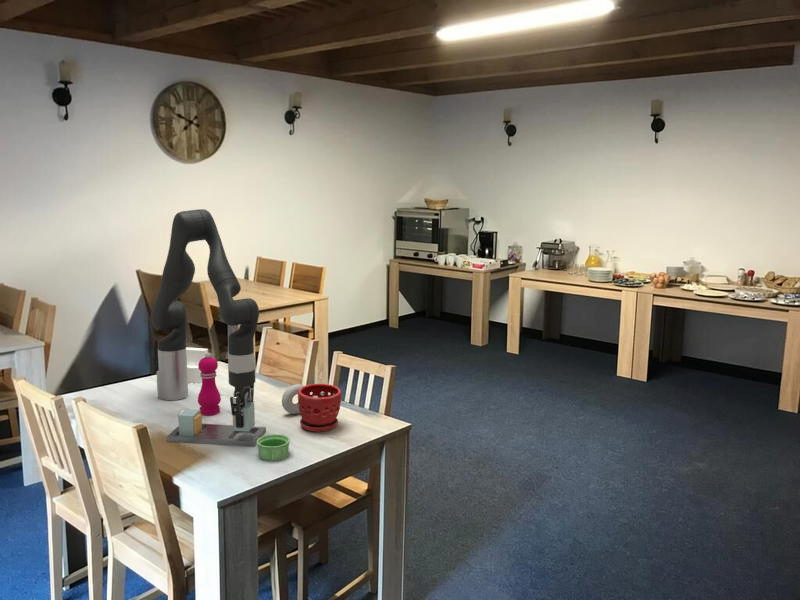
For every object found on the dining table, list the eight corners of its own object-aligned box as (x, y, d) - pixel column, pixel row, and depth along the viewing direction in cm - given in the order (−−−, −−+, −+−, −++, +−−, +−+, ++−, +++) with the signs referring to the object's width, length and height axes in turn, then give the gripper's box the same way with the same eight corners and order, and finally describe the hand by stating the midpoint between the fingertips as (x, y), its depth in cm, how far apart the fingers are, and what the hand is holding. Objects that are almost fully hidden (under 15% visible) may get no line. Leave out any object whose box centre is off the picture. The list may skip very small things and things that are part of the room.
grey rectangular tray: (166, 441, 189) (166, 436, 188) (183, 427, 199) (182, 422, 199) (254, 446, 186) (254, 441, 186) (266, 431, 197) (265, 427, 197)
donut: (284, 418, 208) (284, 388, 206) (280, 415, 211) (279, 385, 209) (312, 412, 214) (312, 383, 212) (307, 409, 217) (307, 380, 215)
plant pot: (290, 431, 198) (289, 393, 196) (311, 416, 210) (311, 381, 208) (328, 437, 193) (328, 399, 191) (348, 423, 205) (348, 386, 203)
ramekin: (260, 464, 175) (260, 448, 174) (254, 451, 183) (253, 436, 183) (293, 459, 179) (293, 443, 178) (285, 446, 187) (285, 432, 186)
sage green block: (179, 438, 191) (178, 415, 190) (187, 431, 196) (186, 408, 195) (195, 439, 191) (194, 416, 189) (203, 432, 196) (202, 409, 195)
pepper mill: (214, 417, 208) (212, 356, 205) (194, 415, 210) (191, 354, 206) (225, 409, 215) (223, 350, 211) (205, 407, 217) (202, 349, 213)
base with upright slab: (179, 382, 242) (178, 351, 240) (191, 375, 251) (190, 345, 248) (202, 384, 240) (201, 353, 238) (213, 377, 249) (212, 346, 247)
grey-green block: (232, 430, 189) (231, 407, 188) (238, 423, 194) (237, 401, 193) (248, 431, 188) (248, 408, 187) (254, 424, 194) (254, 402, 192)
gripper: (237, 360, 195) (239, 414, 199) (219, 374, 181) (221, 432, 184) (262, 361, 195) (263, 415, 198) (246, 375, 181) (247, 433, 184)
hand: (243, 423), depth 191 cm, fingers closed on grey-green block, 5 cm apart
